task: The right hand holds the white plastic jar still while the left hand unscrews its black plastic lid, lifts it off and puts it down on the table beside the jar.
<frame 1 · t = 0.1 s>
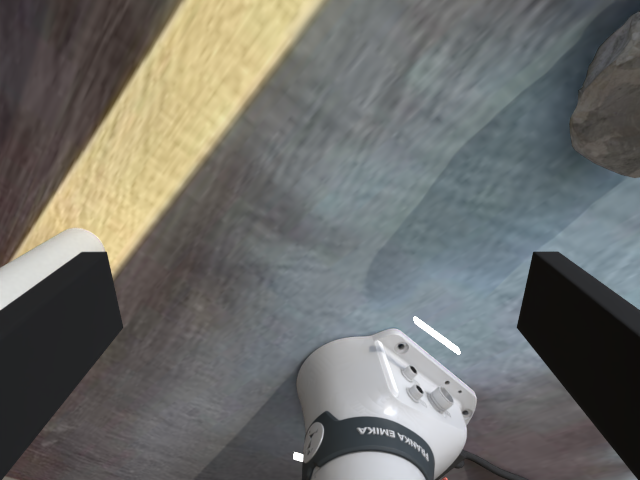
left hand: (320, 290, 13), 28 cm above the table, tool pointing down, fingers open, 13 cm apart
jar: (81, 250, 42), on the table
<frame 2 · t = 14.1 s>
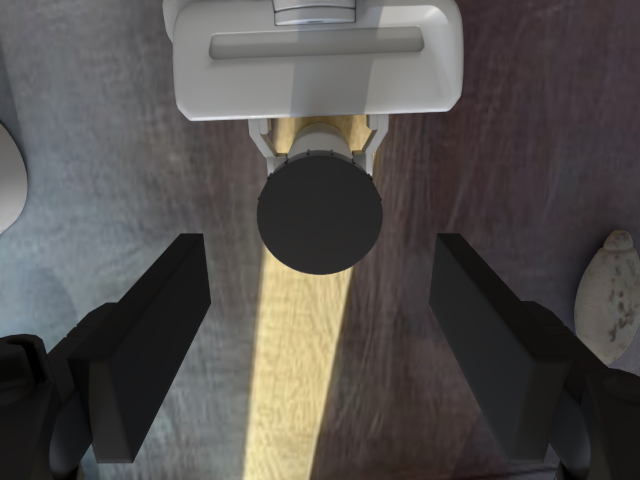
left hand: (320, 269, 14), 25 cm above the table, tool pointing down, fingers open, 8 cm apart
right hand: (320, 176, 31), fingers closed on jar, 5 cm apart
decorative stone: (598, 293, 43), on the table
lid: (319, 216, 19), point 19 cm above the table, screwed on, not yet turned
jar: (320, 151, 37), on the table, touching right hand
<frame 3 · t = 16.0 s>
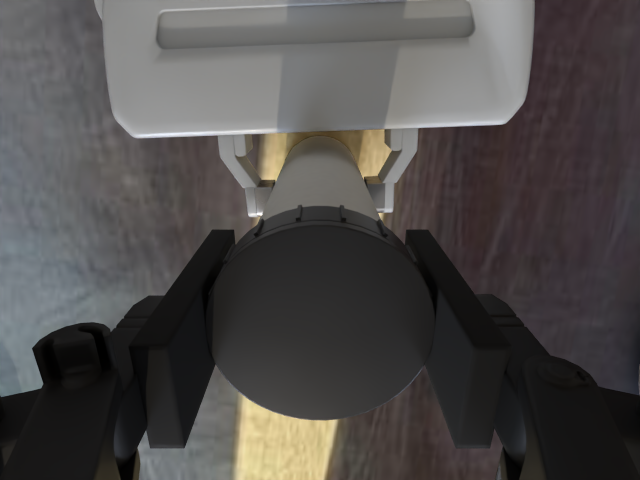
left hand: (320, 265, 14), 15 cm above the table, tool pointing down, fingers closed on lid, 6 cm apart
right hand: (321, 212, 23), fingers closed on jar, 5 cm apart
lid: (320, 325, 11), point 19 cm above the table, screwed on, not yet turned, touching left hand
jar: (320, 173, 28), on the table, touching right hand
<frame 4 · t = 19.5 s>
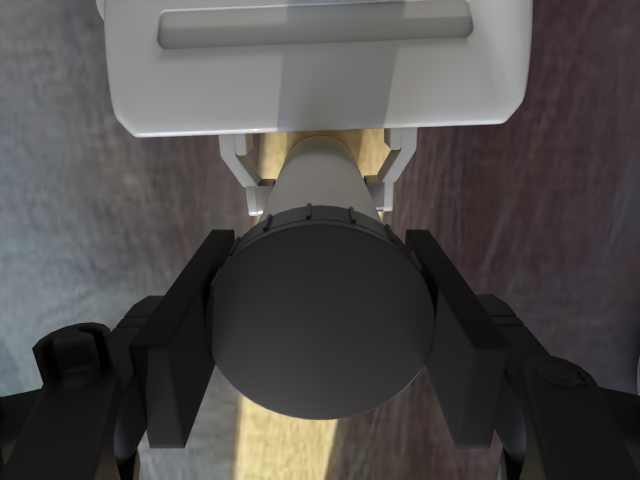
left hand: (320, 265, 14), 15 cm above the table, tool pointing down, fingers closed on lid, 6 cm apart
right hand: (321, 210, 23), fingers closed on jar, 5 cm apart
lid: (319, 325, 11), point 19 cm above the table, turned 101° so far, risen 0.2 cm, still on its thread, touching left hand
jar: (320, 172, 29), on the table, touching right hand
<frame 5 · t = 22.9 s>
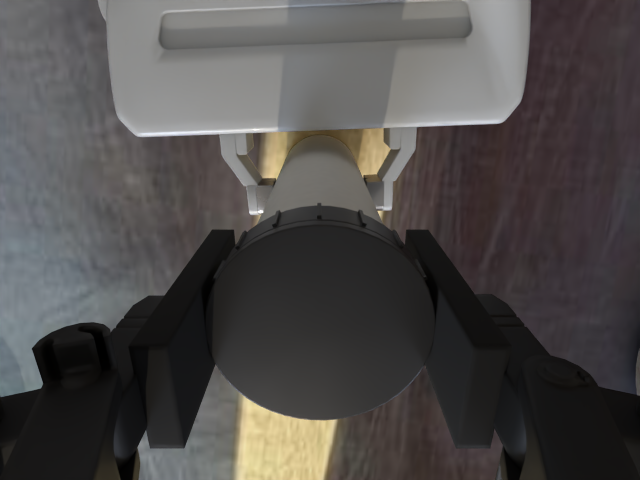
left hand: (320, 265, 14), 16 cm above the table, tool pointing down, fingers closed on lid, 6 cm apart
right hand: (321, 210, 23), fingers closed on jar, 5 cm apart
lid: (320, 325, 11), point 19 cm above the table, turned 202° so far, risen 0.4 cm, still on its thread, touching left hand
jar: (320, 171, 29), on the table, touching right hand
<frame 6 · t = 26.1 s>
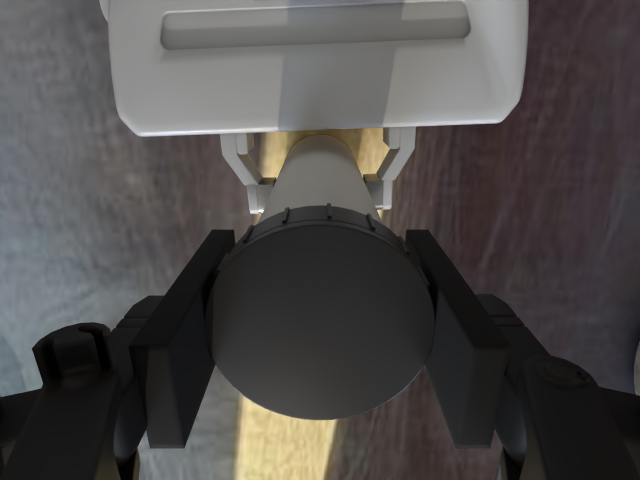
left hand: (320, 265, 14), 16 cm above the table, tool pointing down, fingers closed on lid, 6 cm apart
right hand: (321, 209, 23), fingers closed on jar, 5 cm apart
lid: (319, 325, 11), point 20 cm above the table, turned 303° so far, risen 0.5 cm, still on its thread, touching left hand
jar: (320, 171, 29), on the table, touching right hand
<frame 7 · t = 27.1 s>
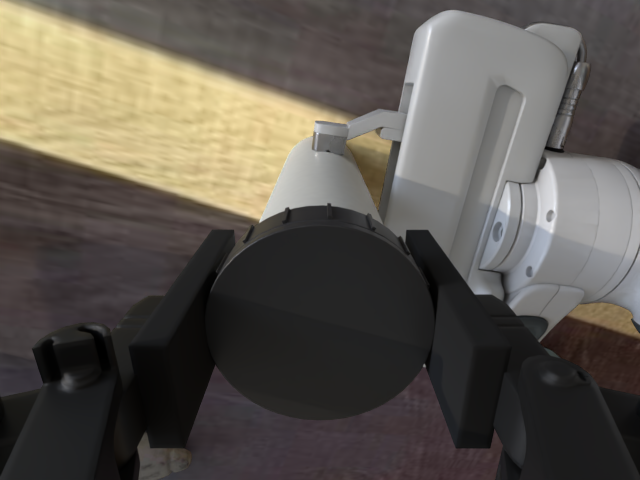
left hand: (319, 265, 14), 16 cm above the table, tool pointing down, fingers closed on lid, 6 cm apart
right hand: (305, 193, 23), fingers closed on jar, 5 cm apart
decorative stone: (116, 442, 39), on the table
lid: (319, 325, 11), point 20 cm above the table, off its thread, touching left hand
jar: (320, 171, 29), on the table, touching right hand
when the left hand's fingers open (0 cm above the table, at t = 33.4 s): lid drops 3 cm, point 1 cm above the table.
when the right hand's fingers open (6 cm above the table, at t = 34.6 s): jar stays where it is, on the table.
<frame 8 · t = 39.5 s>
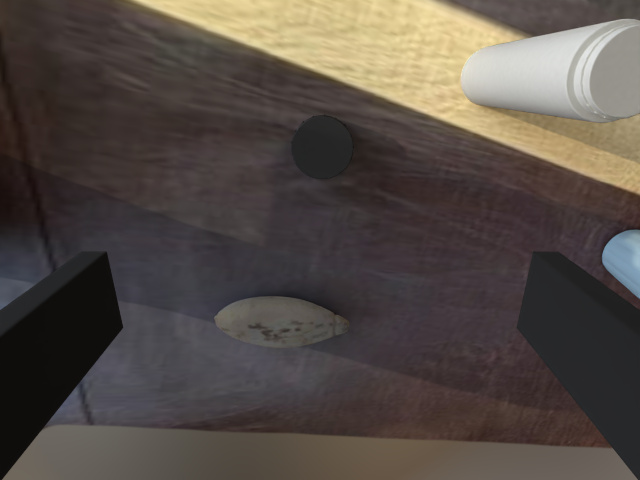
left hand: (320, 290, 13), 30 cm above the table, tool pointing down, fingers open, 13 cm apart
cup: (625, 251, 45), on the table
decorative stone: (283, 314, 48), on the table
lid: (322, 148, 39), point 1 cm above the table, off its thread
jar: (488, 76, 38), on the table
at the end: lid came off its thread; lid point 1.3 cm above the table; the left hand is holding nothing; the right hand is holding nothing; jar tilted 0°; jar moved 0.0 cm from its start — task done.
